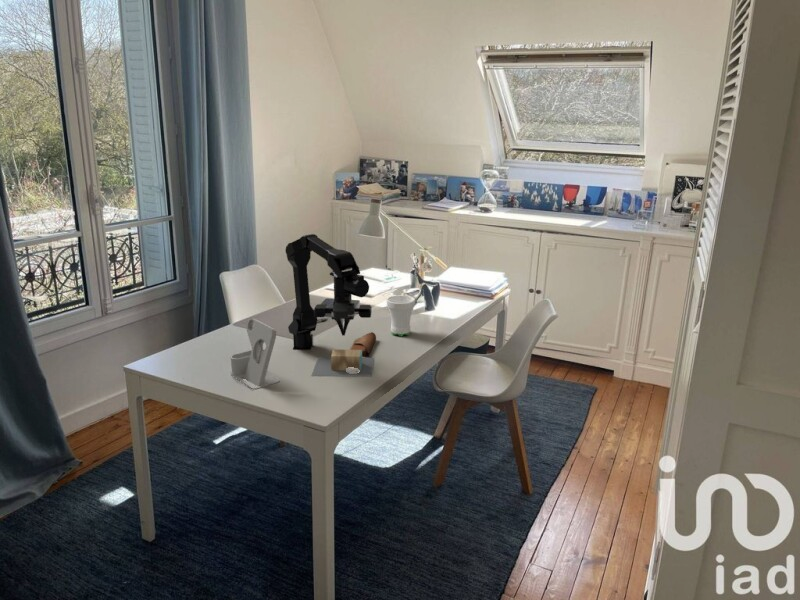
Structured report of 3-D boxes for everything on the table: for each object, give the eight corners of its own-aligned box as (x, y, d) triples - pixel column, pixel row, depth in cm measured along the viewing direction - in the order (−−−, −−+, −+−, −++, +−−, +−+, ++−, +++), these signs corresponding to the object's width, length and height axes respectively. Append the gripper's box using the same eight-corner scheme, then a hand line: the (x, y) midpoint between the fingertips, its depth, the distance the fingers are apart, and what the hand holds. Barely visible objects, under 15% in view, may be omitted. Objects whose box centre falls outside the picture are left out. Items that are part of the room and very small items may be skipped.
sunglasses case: (354, 338, 233) (362, 325, 230) (369, 348, 233) (378, 334, 231) (345, 356, 215) (354, 342, 213) (362, 367, 216) (371, 352, 214)
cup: (413, 328, 244) (414, 295, 240) (415, 338, 234) (416, 303, 230) (386, 328, 244) (386, 295, 240) (386, 338, 233) (386, 303, 229)
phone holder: (228, 373, 201) (224, 322, 196) (256, 365, 208) (253, 316, 202) (253, 391, 189) (249, 337, 183) (282, 382, 195) (279, 330, 190)
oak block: (331, 356, 202) (360, 356, 202) (333, 349, 208) (362, 349, 208) (331, 370, 204) (361, 370, 203) (333, 362, 209) (362, 363, 209)
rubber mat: (311, 377, 199) (311, 375, 199) (318, 358, 214) (318, 357, 214) (372, 377, 199) (372, 376, 199) (374, 358, 214) (374, 357, 214)
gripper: (310, 297, 191) (312, 343, 195) (369, 298, 191) (370, 344, 195) (315, 287, 201) (317, 331, 206) (371, 288, 201) (371, 332, 206)
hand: (343, 335), depth 203 cm, fingers closed
